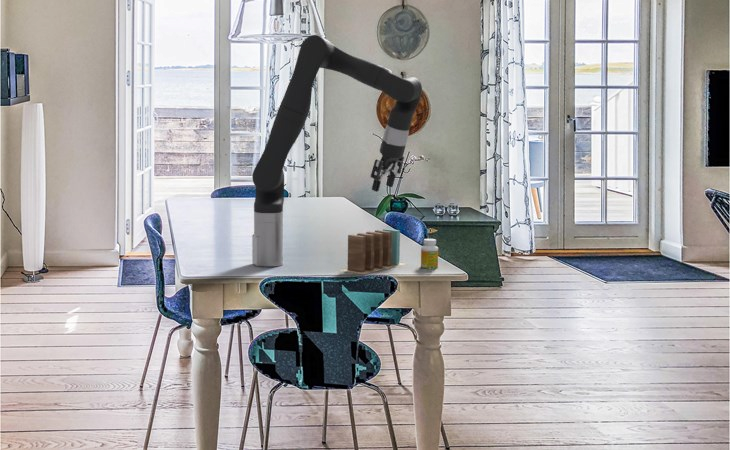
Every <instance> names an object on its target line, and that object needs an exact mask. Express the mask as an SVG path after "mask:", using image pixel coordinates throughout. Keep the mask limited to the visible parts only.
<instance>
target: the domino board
mask: <svg viewBox="0 0 730 450" xmlns="http://www.w3.org/2000/svg"><path fill="white" fill-rule="evenodd" d="M404 265H406V263H405V262H399V264H398V265H395V264H391V266H389V267H387V266H383V268H380V269H379V268H374V270H371V271H370V270H365V272H362V273H361V272H355V271H349V270H348V268H344V269H340V270H338V271H339V272H345V273H349V274H355V275H366V274H370V273H373V272H378V271H384V270H387V269H392V268H396V267H401V266H404Z"/></svg>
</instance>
